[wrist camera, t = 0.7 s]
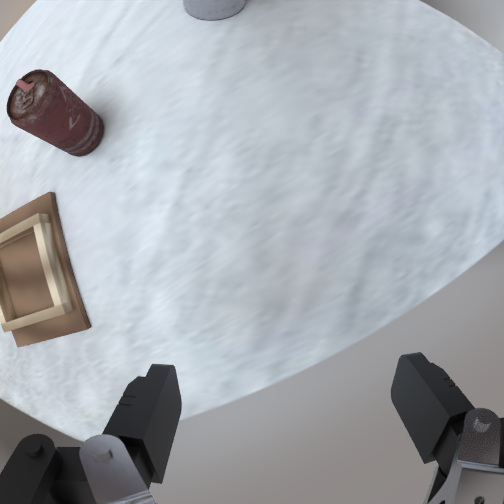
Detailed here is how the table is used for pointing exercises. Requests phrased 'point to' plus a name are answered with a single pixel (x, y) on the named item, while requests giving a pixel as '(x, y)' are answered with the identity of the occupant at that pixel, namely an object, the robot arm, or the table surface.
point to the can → (54, 113)
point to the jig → (37, 276)
